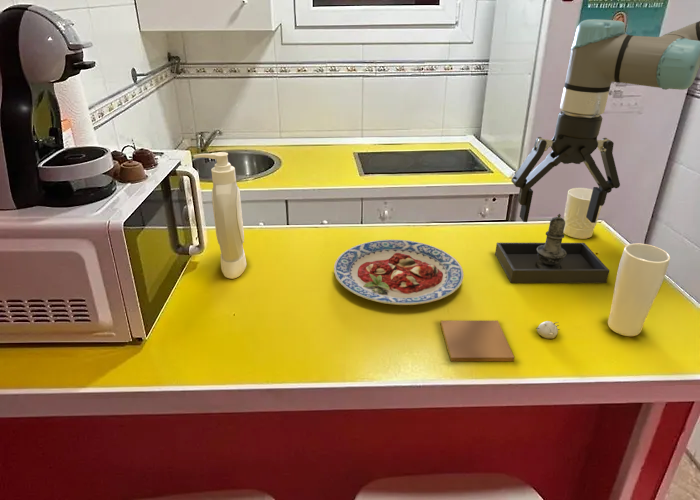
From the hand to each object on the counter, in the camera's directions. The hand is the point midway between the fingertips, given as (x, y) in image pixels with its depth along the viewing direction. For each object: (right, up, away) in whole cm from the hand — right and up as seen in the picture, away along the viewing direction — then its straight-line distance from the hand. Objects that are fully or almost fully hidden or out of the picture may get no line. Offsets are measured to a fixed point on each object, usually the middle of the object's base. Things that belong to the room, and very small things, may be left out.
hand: (556, 219), depth 104 cm
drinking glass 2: (+6, -20, -14) cm, 25 cm away
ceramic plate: (-32, -12, +1) cm, 34 cm away
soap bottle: (-67, -10, +4) cm, 68 cm away
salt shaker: (0, -10, +5) cm, 11 cm away
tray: (0, -10, +5) cm, 11 cm away
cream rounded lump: (-8, -21, -15) cm, 27 cm away
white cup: (+13, -2, +20) cm, 24 cm away
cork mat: (-21, -21, -17) cm, 34 cm away
